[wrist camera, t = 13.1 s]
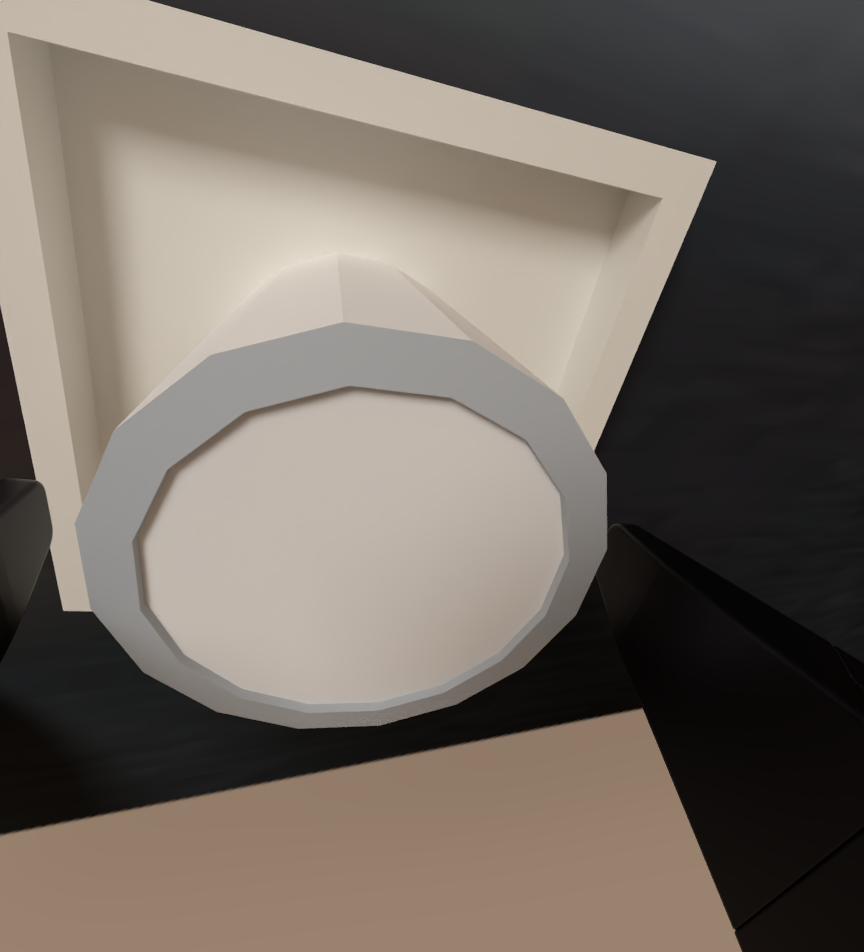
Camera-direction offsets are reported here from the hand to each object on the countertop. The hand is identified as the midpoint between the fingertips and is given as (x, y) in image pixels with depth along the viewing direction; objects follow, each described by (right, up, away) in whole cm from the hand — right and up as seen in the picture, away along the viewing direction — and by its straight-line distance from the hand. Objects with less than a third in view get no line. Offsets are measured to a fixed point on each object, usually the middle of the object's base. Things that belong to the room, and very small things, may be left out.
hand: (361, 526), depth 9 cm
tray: (-1, +3, +5) cm, 6 cm away
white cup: (-1, +3, +4) cm, 6 cm away
